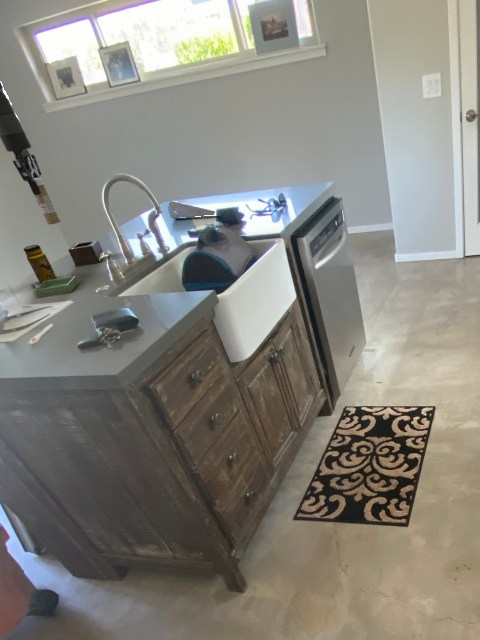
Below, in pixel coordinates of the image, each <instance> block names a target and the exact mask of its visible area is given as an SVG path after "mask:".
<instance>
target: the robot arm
mask: <svg viewBox="0 0 480 640" xmlns="http://www.w3.org/2000/svg"><path fill="white" fill-rule="evenodd" d="M0 140H1V142H2V144H3V146H4V148H5V150H6V151H7V152H9V153H10V152H12V153H13V155H14V158H15V160H14V159H13V160H12V163H13V165H14V167H15V168H16V170H17V172H18V173H19V175H20V177H21V179H22V180H23V182H26V183H27V184H28V183H29V184H28V187H29V188H30V189H31V192H32V194H33V196H34V195H39V194H41V192H40V190H39V188H38V186H37V183H36V181H35V179H34V178H41V179H42V172H41V169H40V167H39V164H38V162H37V159H36V156H35V155H34V154H30V152H29V149H31V148H32V144H31V142H30V140H29V138H28V136H27V134H26V131H25V129H24V127H23V124H22V122H21V121H20V119H19V117H18V115H17V114H16V111H15V109H14V107H13V105H12V103H11V101H10V99H9V96H8V95H7V93H6V91H5V90H4V87H3V84H2V82H1V80H0Z"/></svg>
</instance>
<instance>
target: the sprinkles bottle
mask: <svg viewBox="0 0 480 640" xmlns="http://www.w3.org/2000/svg"><path fill="white" fill-rule="evenodd" d="M34 179H35V181H36V183H37V186H38V188H39V190H40V192H41V194H39V195H34V194H33V196H34V199H35V200H36V202H37V205H38V206H39V209H40V211H41V213H42V215H43V217H44V219H45V221H46V224H47V225H55V224H58V223H61V219H60V217H59V215H58V212H57V210H56V208H55V206H54V204H53V202H52V199H51V197H50V195H49V193H48V191H47V189H46V187H45V184H44V181H43V179H42V177H41V178H34ZM27 184H28V185H29V183H28V182H27Z"/></svg>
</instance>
